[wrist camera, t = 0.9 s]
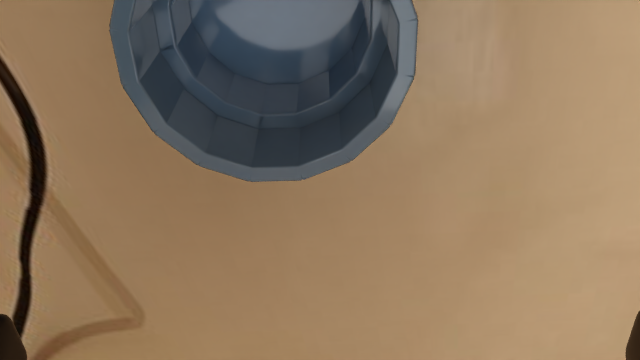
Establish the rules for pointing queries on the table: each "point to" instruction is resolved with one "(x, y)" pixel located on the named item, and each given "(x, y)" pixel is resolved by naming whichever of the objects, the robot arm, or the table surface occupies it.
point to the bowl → (266, 78)
